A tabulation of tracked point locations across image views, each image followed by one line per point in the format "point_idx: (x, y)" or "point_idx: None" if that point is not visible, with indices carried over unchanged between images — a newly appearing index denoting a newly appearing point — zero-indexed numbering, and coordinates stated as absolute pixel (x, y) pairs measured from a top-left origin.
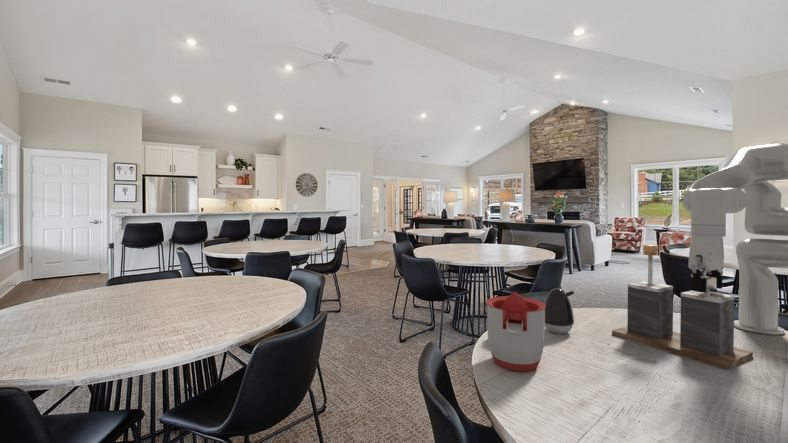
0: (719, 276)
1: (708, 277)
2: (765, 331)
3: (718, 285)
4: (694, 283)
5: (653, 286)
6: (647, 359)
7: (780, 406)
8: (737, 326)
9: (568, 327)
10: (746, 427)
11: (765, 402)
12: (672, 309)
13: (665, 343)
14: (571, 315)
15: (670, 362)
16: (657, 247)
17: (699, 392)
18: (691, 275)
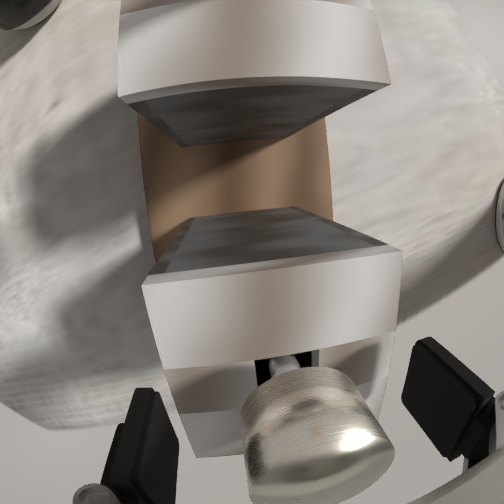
0: (444, 452)
1: (333, 483)
2: (501, 240)
3: (412, 403)
4: (111, 452)
5: (201, 13)
6: (51, 223)
7: (112, 423)
8: (502, 190)
9: (21, 26)
10: (28, 411)
11: (102, 412)
12: (316, 118)
13: (167, 182)
14: (13, 9)
15: (85, 259)
16: None
17: (34, 357)
18: (76, 497)
